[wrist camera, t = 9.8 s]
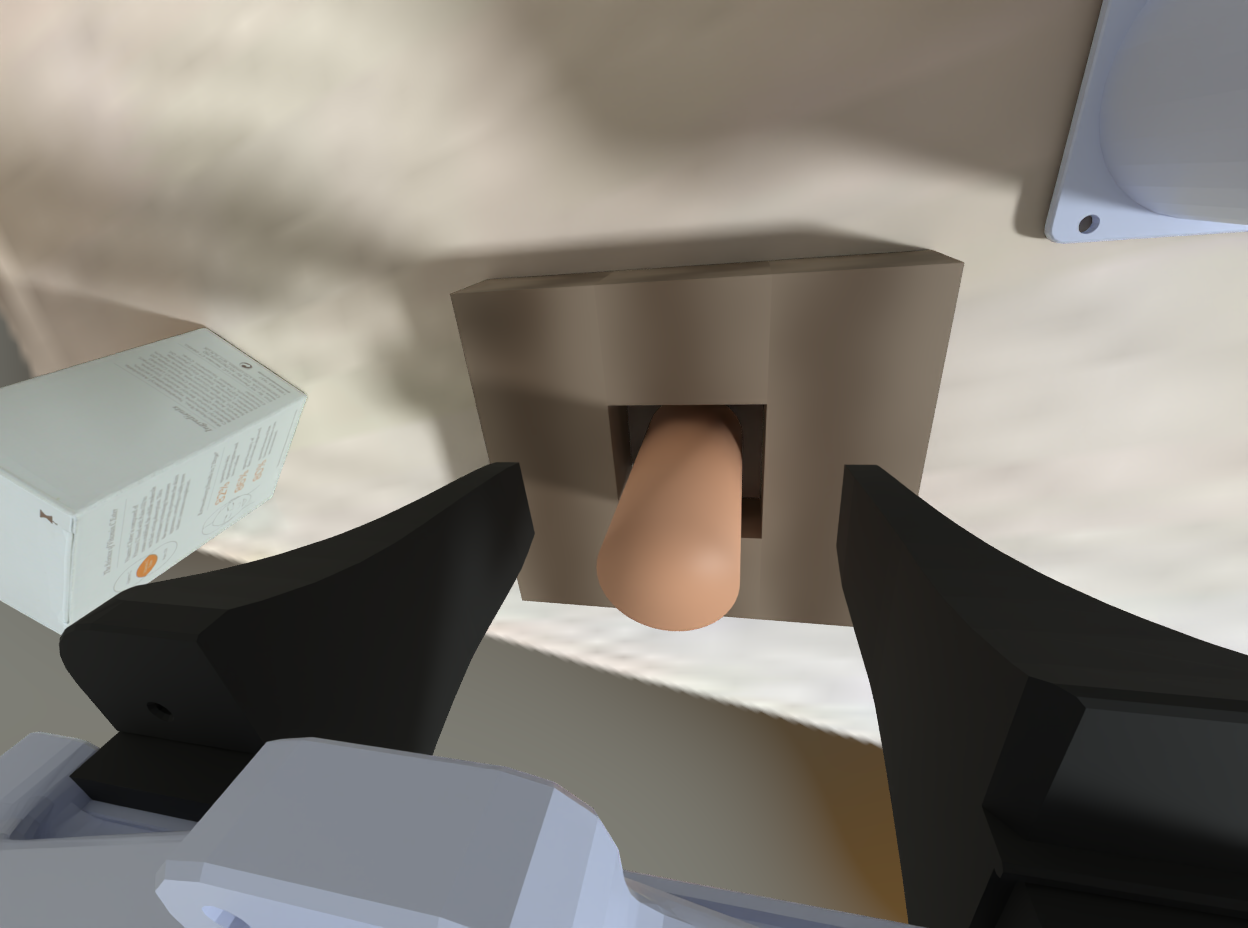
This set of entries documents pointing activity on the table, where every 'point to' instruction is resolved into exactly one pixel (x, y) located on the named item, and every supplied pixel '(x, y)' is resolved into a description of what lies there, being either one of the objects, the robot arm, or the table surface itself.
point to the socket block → (711, 399)
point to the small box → (132, 467)
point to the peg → (678, 522)
